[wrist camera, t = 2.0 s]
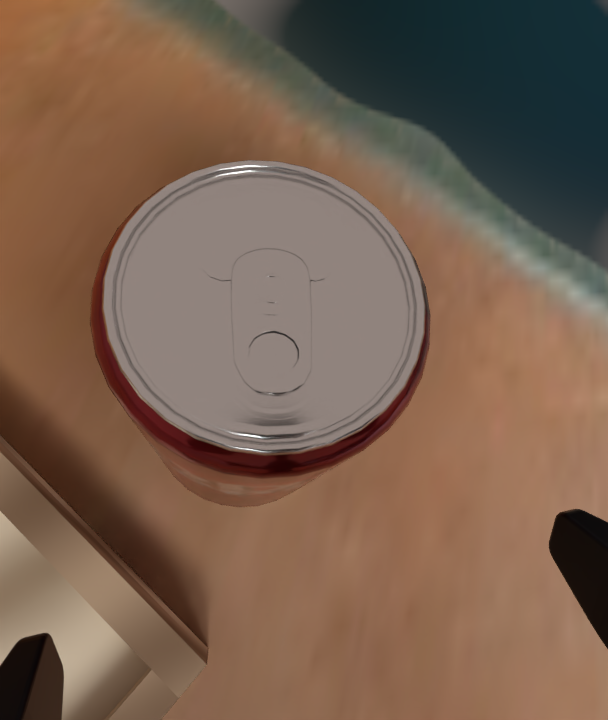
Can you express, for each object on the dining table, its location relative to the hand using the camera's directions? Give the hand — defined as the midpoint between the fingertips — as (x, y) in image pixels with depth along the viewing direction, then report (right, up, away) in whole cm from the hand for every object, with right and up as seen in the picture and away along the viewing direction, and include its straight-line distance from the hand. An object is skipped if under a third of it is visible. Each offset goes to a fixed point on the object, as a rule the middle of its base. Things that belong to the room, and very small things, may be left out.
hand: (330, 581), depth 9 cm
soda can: (-3, +1, +13) cm, 13 cm away
